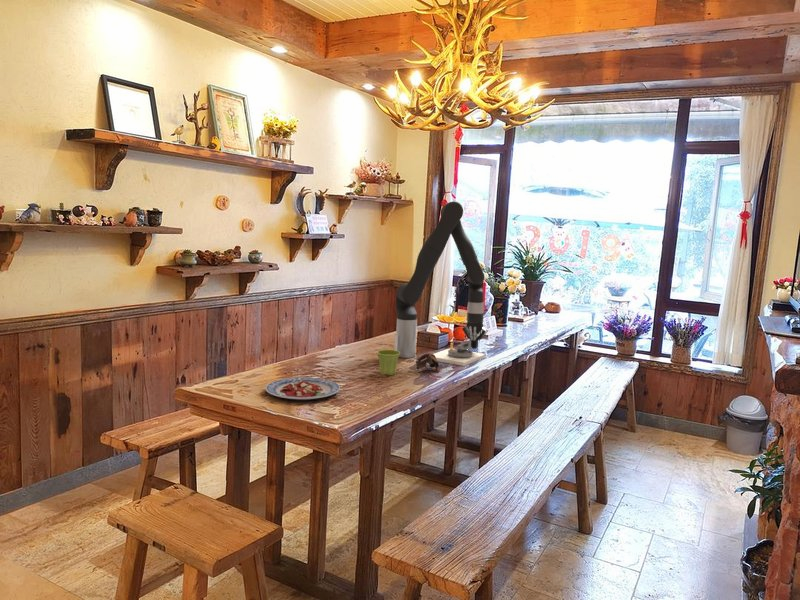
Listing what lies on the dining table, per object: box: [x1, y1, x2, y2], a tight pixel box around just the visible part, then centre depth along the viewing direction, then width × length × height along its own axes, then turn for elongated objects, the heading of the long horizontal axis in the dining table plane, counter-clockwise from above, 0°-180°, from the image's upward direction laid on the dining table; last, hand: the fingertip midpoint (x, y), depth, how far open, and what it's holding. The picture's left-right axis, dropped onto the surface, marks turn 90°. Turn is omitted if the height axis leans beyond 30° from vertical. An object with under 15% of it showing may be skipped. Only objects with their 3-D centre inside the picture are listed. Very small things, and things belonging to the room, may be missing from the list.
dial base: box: [432, 342, 486, 367], centre depth 267 cm, size 22×18×4 cm
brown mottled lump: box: [415, 353, 441, 374], centre depth 244 cm, size 12×10×8 cm
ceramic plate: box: [264, 376, 341, 401], centre depth 206 cm, size 26×26×3 cm
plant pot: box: [376, 349, 400, 376], centre depth 236 cm, size 9×9×9 cm
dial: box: [448, 340, 474, 358], centre depth 269 cm, size 18×11×4 cm, turn 153°
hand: (474, 348), depth 274 cm, fingers closed
